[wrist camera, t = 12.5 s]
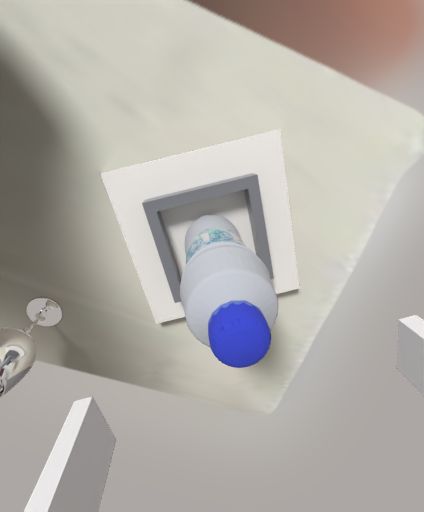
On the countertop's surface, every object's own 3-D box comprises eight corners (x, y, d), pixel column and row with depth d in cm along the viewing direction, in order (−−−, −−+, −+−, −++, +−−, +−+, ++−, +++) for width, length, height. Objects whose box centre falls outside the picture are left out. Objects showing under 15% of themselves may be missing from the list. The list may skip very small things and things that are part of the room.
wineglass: (13, 317, 35) (-69, 392, 24) (33, 285, 34) (-45, 349, 22) (55, 336, 37) (-4, 415, 25) (75, 307, 35) (22, 376, 24)
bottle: (244, 252, 33) (318, 377, 14) (193, 269, 33) (201, 414, 14) (229, 201, 30) (294, 271, 12) (174, 220, 31) (154, 317, 12)
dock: (104, 172, 30) (92, 174, 26) (275, 130, 30) (288, 126, 26) (157, 317, 37) (153, 335, 33) (295, 283, 37) (307, 297, 33)
